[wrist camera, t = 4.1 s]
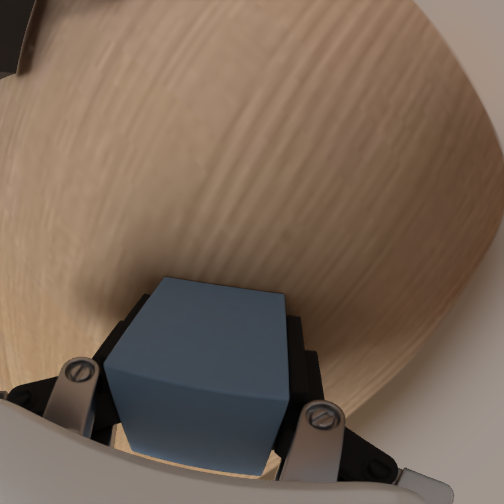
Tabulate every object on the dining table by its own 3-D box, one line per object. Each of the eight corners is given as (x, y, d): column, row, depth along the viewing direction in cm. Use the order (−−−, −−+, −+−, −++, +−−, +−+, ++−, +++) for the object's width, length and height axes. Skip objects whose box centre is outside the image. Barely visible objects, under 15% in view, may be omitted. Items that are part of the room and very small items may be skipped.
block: (285, 293, 11) (290, 399, 6) (266, 379, 12) (261, 476, 8) (164, 275, 11) (101, 363, 6) (168, 363, 12) (131, 451, 8)
